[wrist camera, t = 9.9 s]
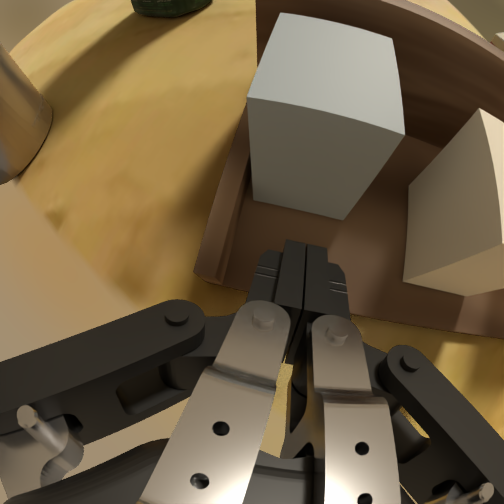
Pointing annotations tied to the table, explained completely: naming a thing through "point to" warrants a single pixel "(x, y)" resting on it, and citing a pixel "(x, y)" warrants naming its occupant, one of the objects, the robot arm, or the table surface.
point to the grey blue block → (322, 114)
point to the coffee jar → (167, 7)
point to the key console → (384, 184)
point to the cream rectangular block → (460, 213)
